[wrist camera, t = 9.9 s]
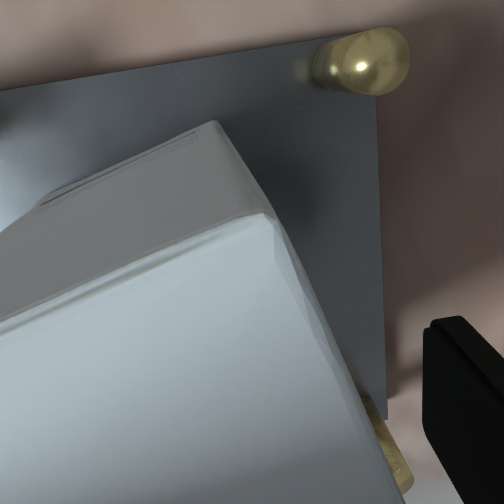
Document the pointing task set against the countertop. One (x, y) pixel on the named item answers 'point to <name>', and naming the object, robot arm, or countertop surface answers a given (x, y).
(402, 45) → the chassis
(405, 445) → the countertop surface
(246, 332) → the skincare box
